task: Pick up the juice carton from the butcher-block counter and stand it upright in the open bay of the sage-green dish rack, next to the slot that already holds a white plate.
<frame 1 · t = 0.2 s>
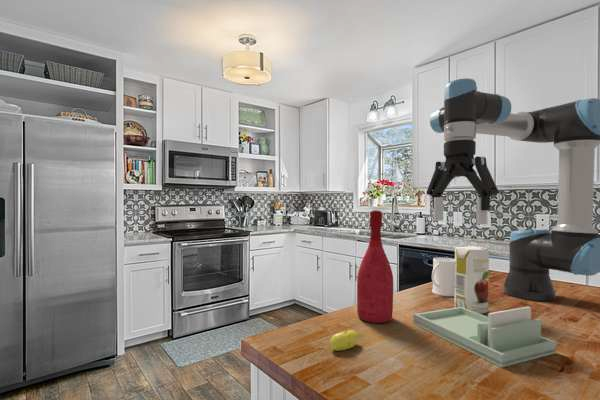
hand: (458, 222, 87), 27 cm above the counter, fingers open, 13 cm apart
dish rack: (477, 336, 81), on the counter
lemon: (345, 349, 74), on the counter
mug: (441, 294, 118), on the counter
juice carton: (470, 311, 100), on the counter
wine bottle: (374, 318, 92), on the counter
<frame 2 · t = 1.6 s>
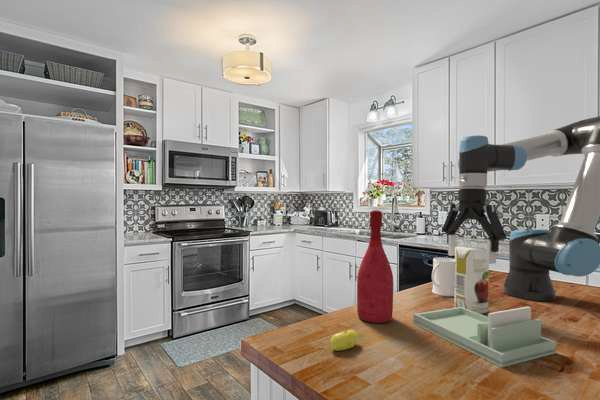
hand: (470, 259, 100), 15 cm above the counter, fingers open, 13 cm apart
nothing on the counter moved.
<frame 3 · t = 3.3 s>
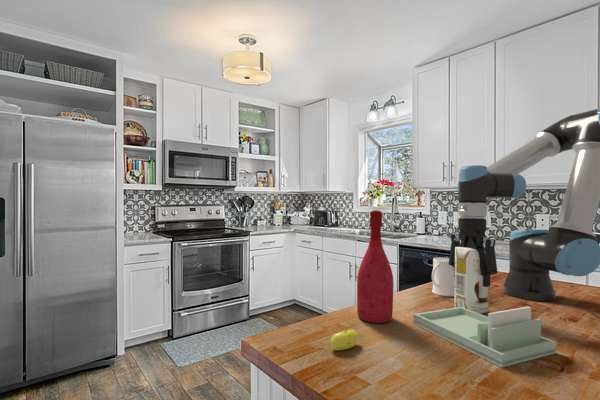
hand: (471, 293, 100), 5 cm above the counter, fingers closed on juice carton, 8 cm apart
juice carton: (470, 311, 100), on the counter, touching gripper
everything else where it was.
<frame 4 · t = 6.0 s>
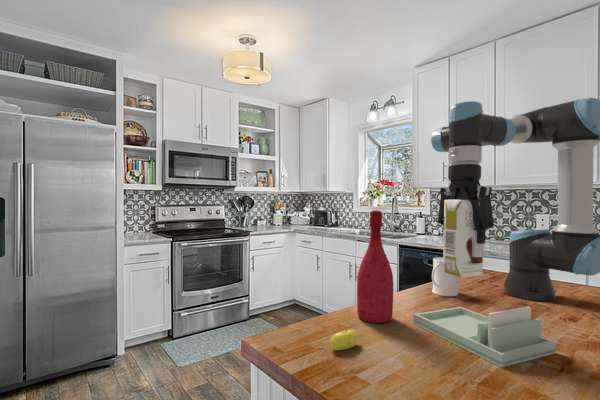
hand: (463, 254, 85), 19 cm above the counter, fingers closed on juice carton, 8 cm apart
juice carton: (462, 274, 85), point 14 cm above the counter, touching gripper
everything else where it was.
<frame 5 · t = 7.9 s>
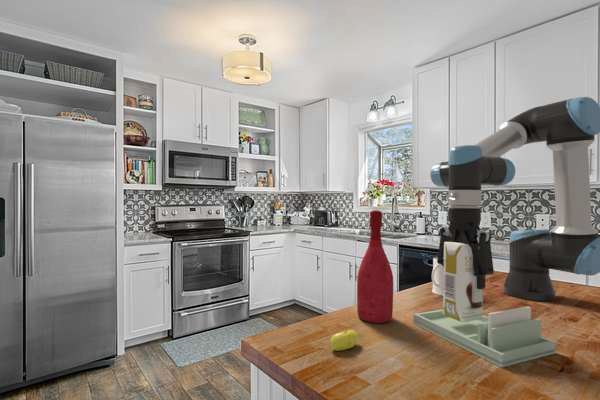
hand: (462, 296, 85), 9 cm above the counter, fingers closed on juice carton, 8 cm apart
juice carton: (462, 317, 85), point 3 cm above the counter, touching gripper
everything else where it was.
when the fingers open (8 cm above the counter, at t = 8.9 s): juice carton drops 1 cm, resting on dish rack.
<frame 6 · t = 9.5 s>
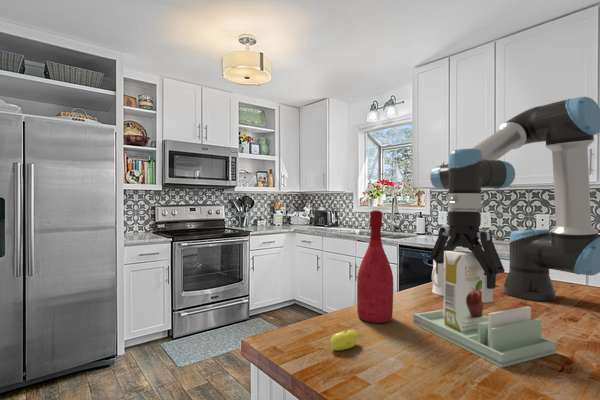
hand: (463, 294, 85), 9 cm above the counter, fingers open, 13 cm apart
juice carton: (462, 326, 85), point 1 cm above the counter, touching dish rack
everything else where it was.
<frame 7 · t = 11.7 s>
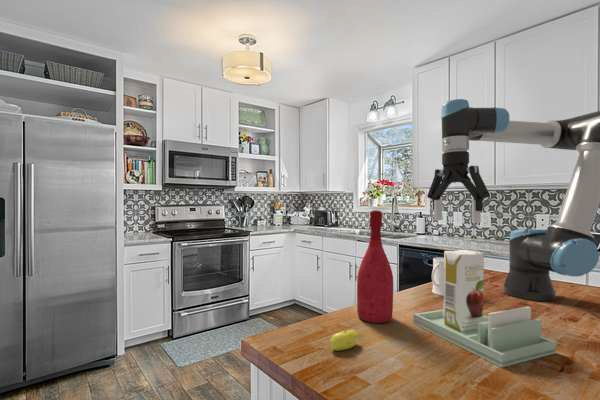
hand: (456, 221, 102), 27 cm above the counter, fingers open, 13 cm apart
nothing on the counter moved.
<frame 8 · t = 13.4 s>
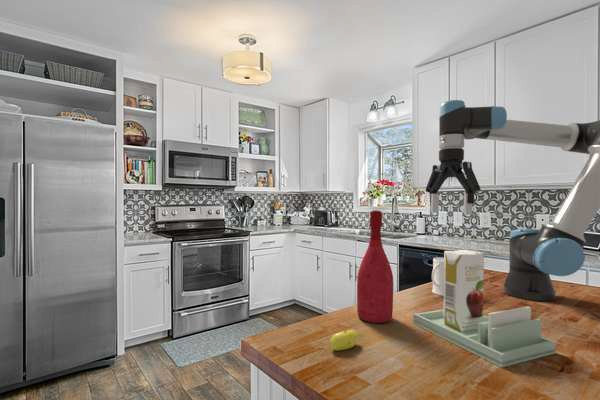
hand: (450, 213, 110), 29 cm above the counter, fingers open, 13 cm apart
nothing on the counter moved.
at the end: juice carton inside the target area on the dish rack (0.3 cm from its centre), point 0.8 cm above the dish rack's base; juice carton tilted 0°; juice carton touching dish rack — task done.
